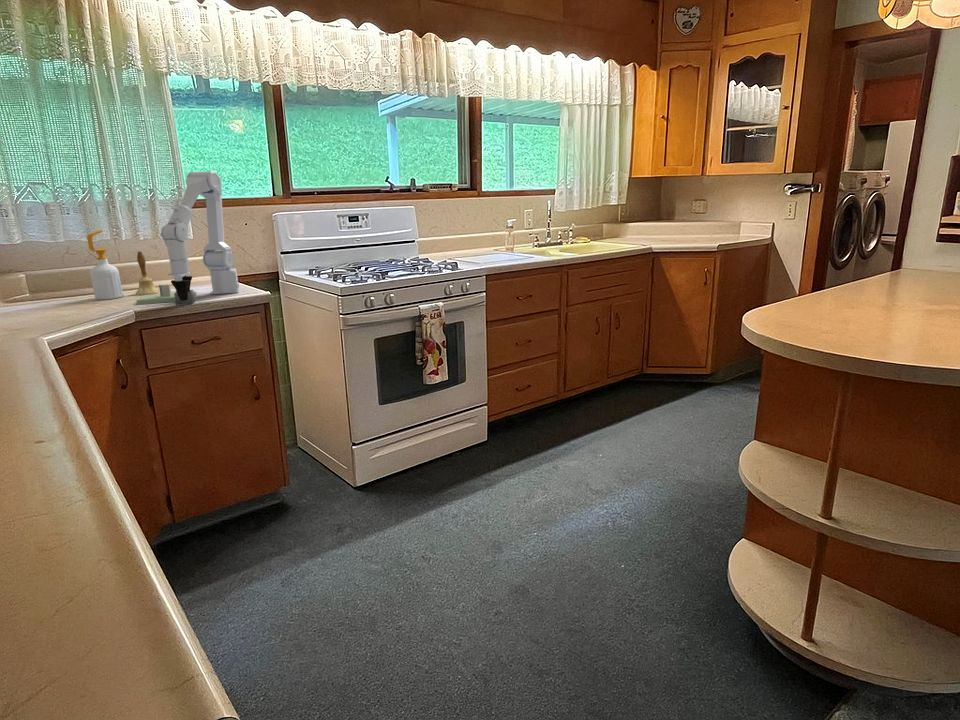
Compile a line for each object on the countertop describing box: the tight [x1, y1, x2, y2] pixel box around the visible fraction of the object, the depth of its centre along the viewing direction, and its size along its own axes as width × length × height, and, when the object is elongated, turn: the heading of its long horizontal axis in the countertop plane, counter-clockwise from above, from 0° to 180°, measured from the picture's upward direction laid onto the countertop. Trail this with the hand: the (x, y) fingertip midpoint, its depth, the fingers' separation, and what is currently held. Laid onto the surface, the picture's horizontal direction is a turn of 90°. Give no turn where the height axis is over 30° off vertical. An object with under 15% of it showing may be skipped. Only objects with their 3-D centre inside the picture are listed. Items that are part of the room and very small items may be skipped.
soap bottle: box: [86, 229, 124, 301], centre depth 224 cm, size 9×9×25 cm
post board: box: [136, 283, 198, 305], centre depth 219 cm, size 18×10×6 cm, turn 108°
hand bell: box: [135, 251, 160, 296], centre depth 233 cm, size 8×8×16 cm
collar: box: [173, 289, 196, 306], centre depth 213 cm, size 5×5×4 cm
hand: (185, 298), depth 213 cm, fingers closed on collar, 5 cm apart
